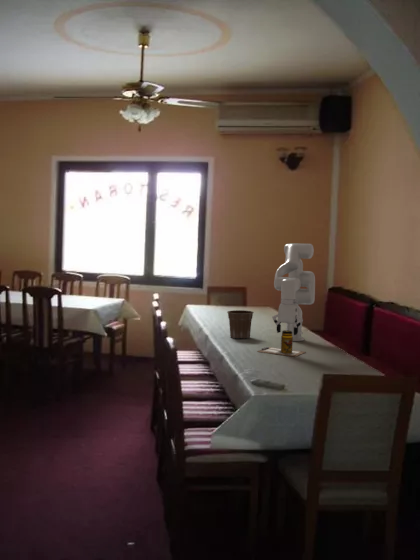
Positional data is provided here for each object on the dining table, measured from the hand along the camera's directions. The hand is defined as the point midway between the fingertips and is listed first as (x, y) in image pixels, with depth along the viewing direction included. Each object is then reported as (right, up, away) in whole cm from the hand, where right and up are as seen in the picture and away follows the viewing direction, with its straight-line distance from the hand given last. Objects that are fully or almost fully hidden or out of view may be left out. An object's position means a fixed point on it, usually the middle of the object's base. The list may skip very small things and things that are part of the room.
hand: (287, 333), depth 307 cm
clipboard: (-2, -11, +5) cm, 12 cm away
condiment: (-1, -11, +1) cm, 11 cm away
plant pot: (-23, -7, +48) cm, 53 cm away
